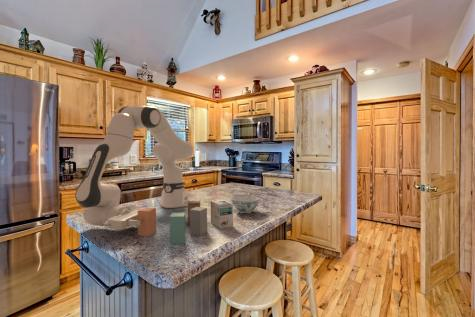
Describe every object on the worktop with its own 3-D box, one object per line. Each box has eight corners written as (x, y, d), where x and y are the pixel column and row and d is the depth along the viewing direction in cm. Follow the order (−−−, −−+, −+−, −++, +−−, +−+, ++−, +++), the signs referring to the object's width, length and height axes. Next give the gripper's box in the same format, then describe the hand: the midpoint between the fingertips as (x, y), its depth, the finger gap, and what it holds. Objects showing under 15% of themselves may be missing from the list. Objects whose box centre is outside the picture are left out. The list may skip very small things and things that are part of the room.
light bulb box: (233, 227, 104) (233, 202, 104) (219, 229, 101) (219, 204, 100) (223, 220, 113) (222, 198, 113) (210, 222, 110) (209, 200, 109)
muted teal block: (172, 238, 90) (172, 212, 90) (185, 238, 91) (185, 212, 90) (169, 243, 85) (169, 216, 85) (183, 243, 86) (183, 216, 85)
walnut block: (189, 221, 112) (189, 200, 111) (200, 221, 112) (200, 200, 111) (187, 225, 107) (187, 203, 106) (198, 224, 107) (198, 203, 106)
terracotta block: (145, 230, 99) (145, 207, 98) (156, 231, 98) (155, 208, 97) (137, 235, 94) (137, 210, 94) (148, 236, 93) (148, 211, 92)
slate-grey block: (197, 229, 100) (196, 206, 100) (207, 231, 98) (206, 207, 98) (190, 233, 95) (189, 209, 95) (200, 235, 93) (200, 210, 93)
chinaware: (244, 217, 118) (244, 202, 117) (226, 211, 129) (226, 197, 129) (265, 212, 127) (265, 198, 127) (246, 207, 139) (246, 194, 138)
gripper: (99, 216, 89) (130, 218, 85) (135, 203, 108) (162, 205, 105) (99, 232, 89) (131, 235, 85) (135, 217, 109) (162, 219, 105)
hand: (148, 219), depth 95 cm, fingers open, 8 cm apart
